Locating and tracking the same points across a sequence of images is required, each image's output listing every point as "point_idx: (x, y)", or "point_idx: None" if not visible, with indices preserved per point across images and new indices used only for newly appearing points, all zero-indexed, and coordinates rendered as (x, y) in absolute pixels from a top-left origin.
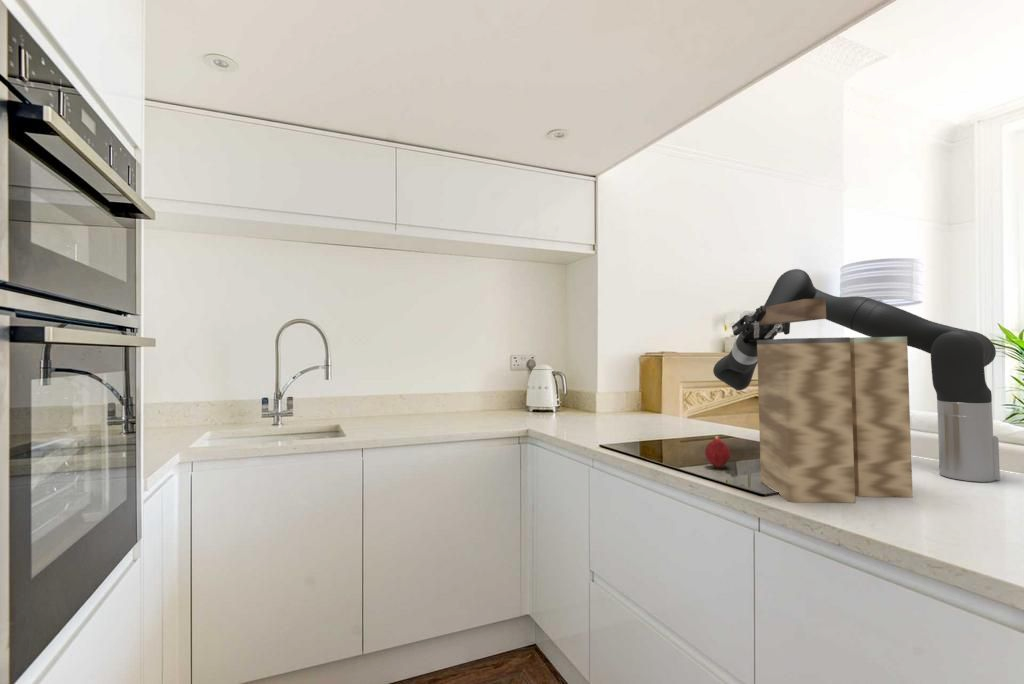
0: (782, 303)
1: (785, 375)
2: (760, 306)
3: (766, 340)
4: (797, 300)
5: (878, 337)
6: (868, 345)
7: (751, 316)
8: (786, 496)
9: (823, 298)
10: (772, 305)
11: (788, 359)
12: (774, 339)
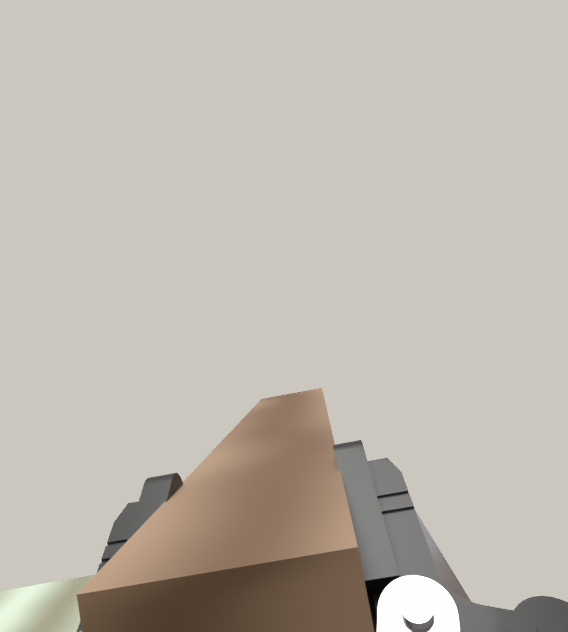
0: (325, 407)
1: None
2: (363, 451)
3: (446, 562)
4: (322, 392)
5: (82, 578)
6: None
7: (472, 608)
8: None
9: (267, 398)
10: (330, 427)
11: None
12: (424, 526)
